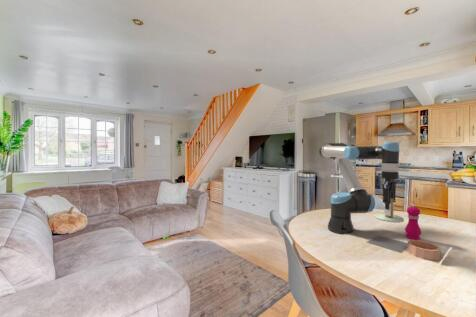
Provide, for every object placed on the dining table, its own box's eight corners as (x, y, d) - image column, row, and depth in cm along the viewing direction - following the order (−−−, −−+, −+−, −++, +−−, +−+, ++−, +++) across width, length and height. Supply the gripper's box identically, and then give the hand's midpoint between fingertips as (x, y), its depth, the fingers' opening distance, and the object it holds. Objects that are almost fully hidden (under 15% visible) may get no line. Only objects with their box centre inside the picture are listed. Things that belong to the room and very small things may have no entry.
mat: (366, 243, 121) (366, 242, 121) (377, 236, 131) (377, 235, 131) (401, 254, 109) (401, 252, 109) (411, 245, 118) (411, 244, 118)
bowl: (404, 254, 108) (404, 244, 108) (411, 247, 116) (412, 238, 116) (436, 264, 99) (437, 253, 99) (442, 255, 106) (442, 245, 106)
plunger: (370, 218, 120) (371, 198, 120) (380, 213, 128) (380, 194, 128) (399, 224, 110) (399, 202, 110) (407, 219, 118) (407, 198, 118)
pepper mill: (414, 242, 122) (415, 206, 122) (401, 237, 129) (402, 203, 128) (424, 240, 124) (425, 205, 123) (411, 235, 131) (411, 202, 130)
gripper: (392, 172, 110) (391, 219, 111) (403, 170, 120) (402, 213, 121) (375, 171, 116) (375, 215, 117) (387, 169, 126) (386, 210, 127)
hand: (388, 214), depth 119 cm, fingers closed on plunger, 3 cm apart
